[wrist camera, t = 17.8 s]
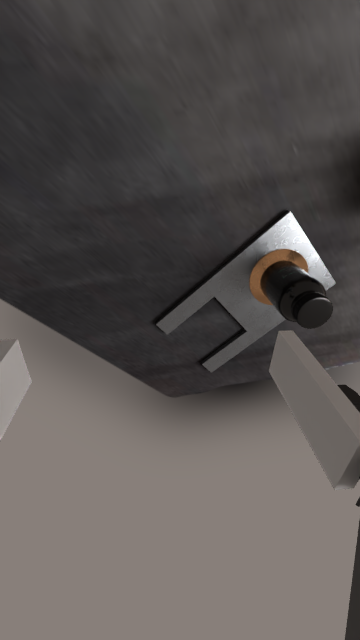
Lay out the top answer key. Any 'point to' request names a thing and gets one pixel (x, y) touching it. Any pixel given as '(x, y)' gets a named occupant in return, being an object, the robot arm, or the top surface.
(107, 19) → the top surface
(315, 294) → the supplement bottle
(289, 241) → the rail plate
